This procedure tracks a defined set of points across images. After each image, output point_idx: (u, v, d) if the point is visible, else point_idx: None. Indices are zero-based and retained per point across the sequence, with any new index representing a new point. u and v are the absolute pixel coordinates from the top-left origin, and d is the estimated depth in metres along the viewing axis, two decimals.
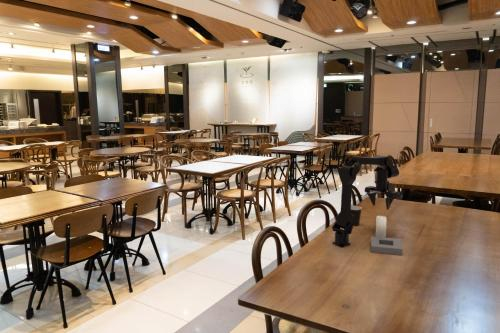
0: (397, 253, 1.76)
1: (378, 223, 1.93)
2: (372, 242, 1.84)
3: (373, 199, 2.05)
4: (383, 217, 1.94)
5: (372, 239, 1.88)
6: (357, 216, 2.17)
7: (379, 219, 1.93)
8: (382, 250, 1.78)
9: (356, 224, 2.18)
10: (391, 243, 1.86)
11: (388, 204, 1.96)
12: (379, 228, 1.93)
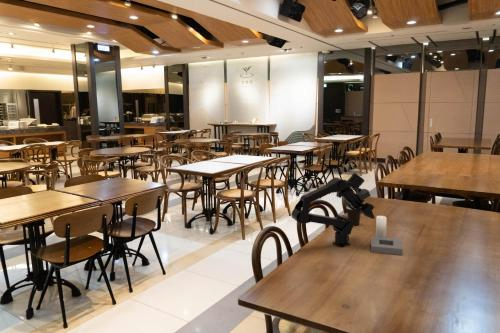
0: (397, 253, 1.76)
1: (378, 223, 1.93)
2: (372, 242, 1.84)
3: (359, 209, 1.96)
4: (383, 217, 1.94)
5: (372, 239, 1.88)
6: (357, 216, 2.17)
7: (379, 219, 1.93)
8: (382, 250, 1.78)
9: (356, 224, 2.18)
10: (391, 243, 1.86)
11: (370, 216, 1.86)
12: (379, 228, 1.93)
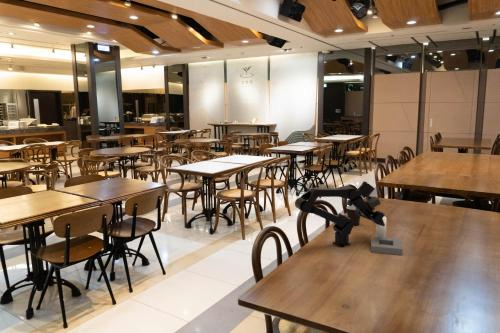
0: (397, 253, 1.76)
1: None
2: (372, 242, 1.84)
3: (369, 217, 1.98)
4: (383, 217, 1.94)
5: (372, 239, 1.88)
6: (357, 216, 2.17)
7: None
8: (382, 250, 1.78)
9: (356, 224, 2.18)
10: (391, 243, 1.86)
11: (380, 224, 1.88)
12: (379, 228, 1.93)
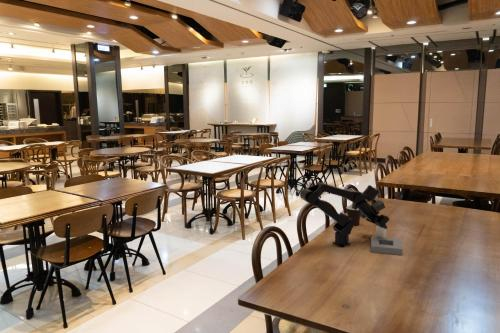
0: (397, 253, 1.76)
1: None
2: (372, 242, 1.84)
3: None
4: None
5: (372, 239, 1.88)
6: (357, 216, 2.17)
7: None
8: (382, 250, 1.78)
9: (356, 224, 2.18)
10: (391, 243, 1.86)
11: (383, 226, 1.91)
12: (379, 228, 1.93)
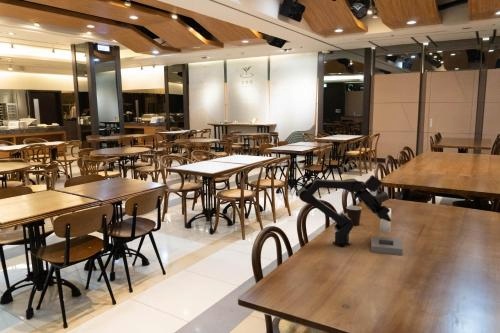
0: (397, 253, 1.76)
1: None
2: (372, 242, 1.84)
3: None
4: None
5: (372, 239, 1.88)
6: (357, 216, 2.17)
7: None
8: (382, 250, 1.78)
9: (356, 224, 2.18)
10: (391, 243, 1.86)
11: (385, 218, 1.85)
12: (382, 220, 1.87)
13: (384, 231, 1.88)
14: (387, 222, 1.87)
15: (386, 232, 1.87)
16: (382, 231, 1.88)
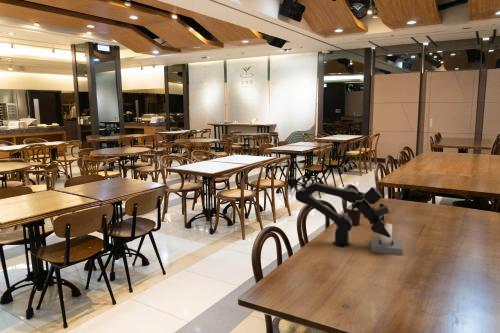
0: (397, 253, 1.76)
1: None
2: (372, 242, 1.84)
3: None
4: (388, 225, 1.81)
5: (372, 239, 1.88)
6: (357, 216, 2.17)
7: None
8: (382, 250, 1.78)
9: (356, 224, 2.18)
10: None
11: (383, 234, 1.77)
12: (382, 236, 1.82)
13: None
14: (386, 238, 1.81)
15: None
16: None
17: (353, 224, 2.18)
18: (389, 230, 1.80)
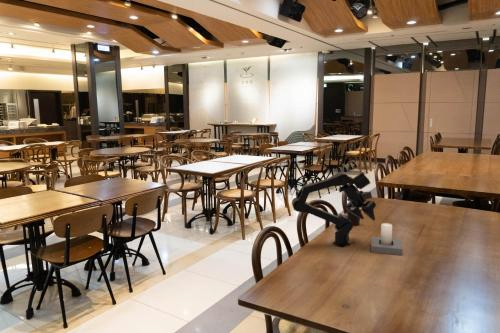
0: (397, 253, 1.76)
1: (381, 230, 1.82)
2: (372, 242, 1.84)
3: (358, 214, 1.92)
4: (388, 225, 1.81)
5: (372, 239, 1.88)
6: None
7: (382, 226, 1.81)
8: (382, 250, 1.78)
9: (356, 224, 2.18)
10: None
11: (371, 216, 1.82)
12: (382, 236, 1.82)
13: None
14: (386, 238, 1.81)
15: None
16: None
17: (353, 224, 2.18)
18: (389, 230, 1.80)
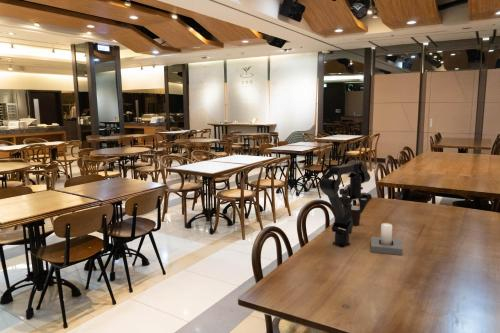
0: (397, 253, 1.76)
1: (381, 230, 1.82)
2: (372, 242, 1.84)
3: None
4: (388, 225, 1.81)
5: (372, 239, 1.88)
6: (357, 216, 2.17)
7: (382, 226, 1.81)
8: (382, 250, 1.78)
9: (356, 224, 2.18)
10: None
11: None
12: (382, 236, 1.82)
13: None
14: (386, 238, 1.81)
15: None
16: None
17: (353, 224, 2.18)
18: (389, 230, 1.80)
